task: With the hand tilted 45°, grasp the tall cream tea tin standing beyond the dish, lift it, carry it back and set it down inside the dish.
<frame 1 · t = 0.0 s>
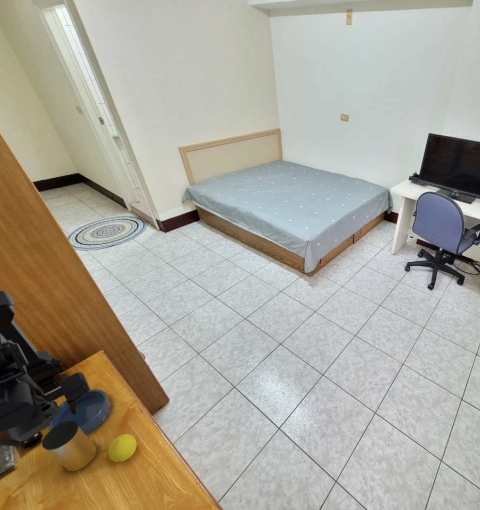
hand: (48, 428, 62), 15 cm above the table, tool pointing down, fingers open, 9 cm apart
dish: (84, 416, 77), on the table
tin: (81, 457, 69), on the table
lemon: (128, 455, 70), on the table
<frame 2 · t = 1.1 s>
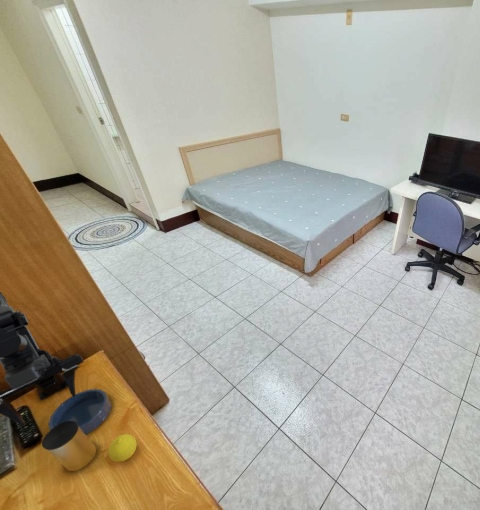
hand: (50, 410, 66), 13 cm above the table, tool tilted 45°, fingers open, 9 cm apart
nothing on the table moved.
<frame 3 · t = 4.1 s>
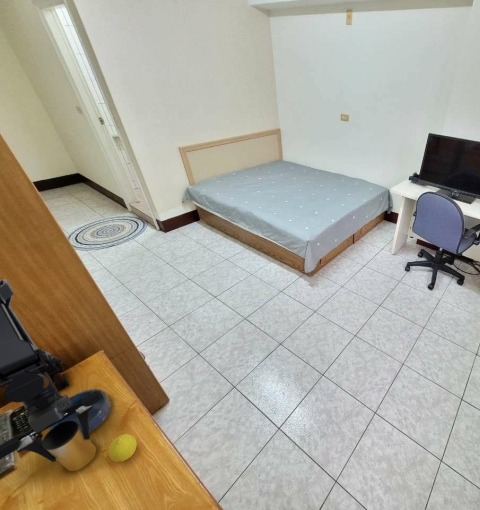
hand: (72, 449, 65), 7 cm above the table, tool tilted 45°, fingers closed on tin, 6 cm apart
tin: (81, 457, 69), on the table, touching gripper
everything else where it was.
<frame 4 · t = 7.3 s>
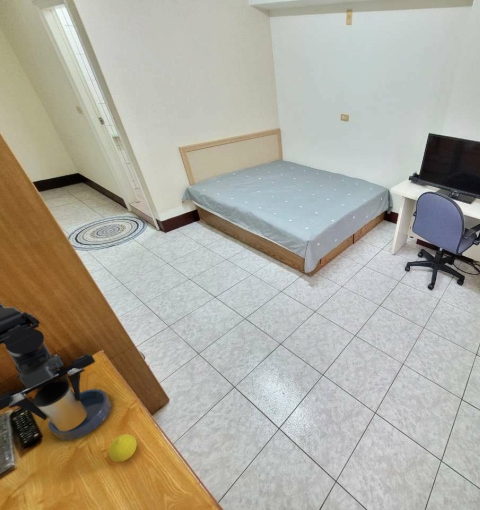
hand: (63, 409, 66), 13 cm above the table, tool tilted 45°, fingers closed on tin, 6 cm apart
tin: (72, 419, 70), point 7 cm above the table, touching gripper
everything else where it was.
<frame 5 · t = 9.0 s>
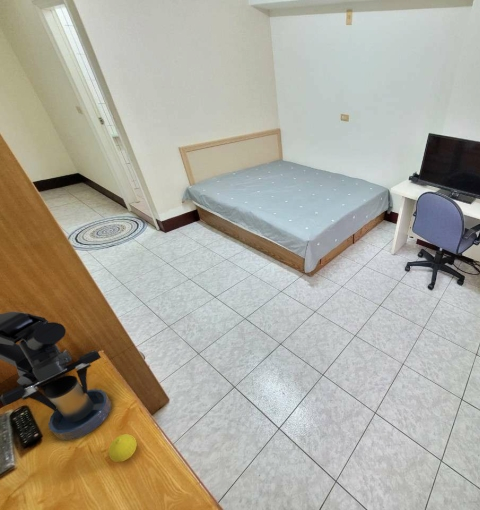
hand: (71, 401, 72), 10 cm above the table, tool tilted 45°, fingers closed on tin, 6 cm apart
tin: (80, 411, 76), point 3 cm above the table, touching gripper
everything else where it was.
when the fingers open (7 cm above the table, at t = 10.3 s): tin stays where it is, resting on dish.
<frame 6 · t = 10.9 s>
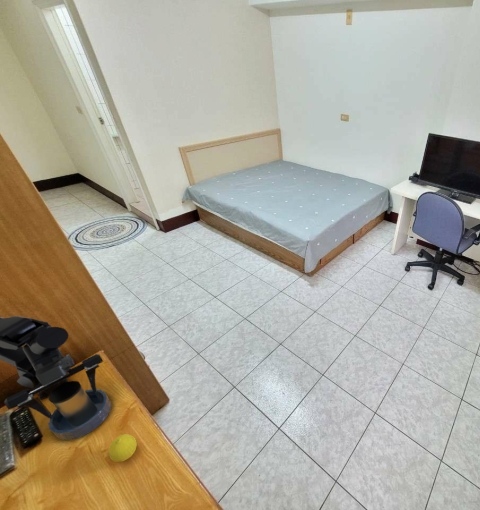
hand: (74, 405, 72), 8 cm above the table, tool tilted 45°, fingers open, 9 cm apart
tin: (83, 415, 77), point 1 cm above the table, touching dish
everything else where it was.
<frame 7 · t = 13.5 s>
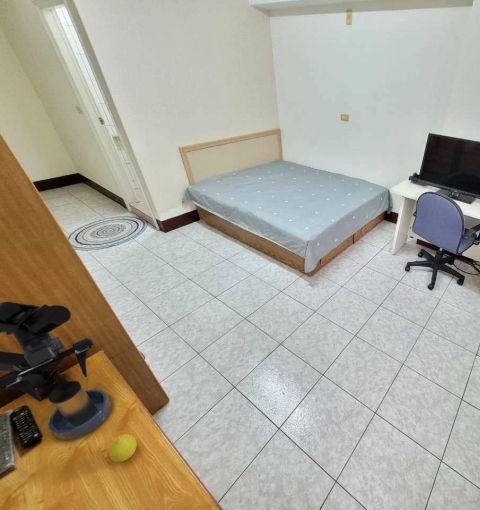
hand: (64, 388, 72), 12 cm above the table, tool tilted 45°, fingers open, 9 cm apart
nothing on the table moved.
at the end: tin 0.1 cm off-centre in the dish, point 0.6 cm above the dish's base; tin tilted 0°; the gripper is holding nothing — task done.
